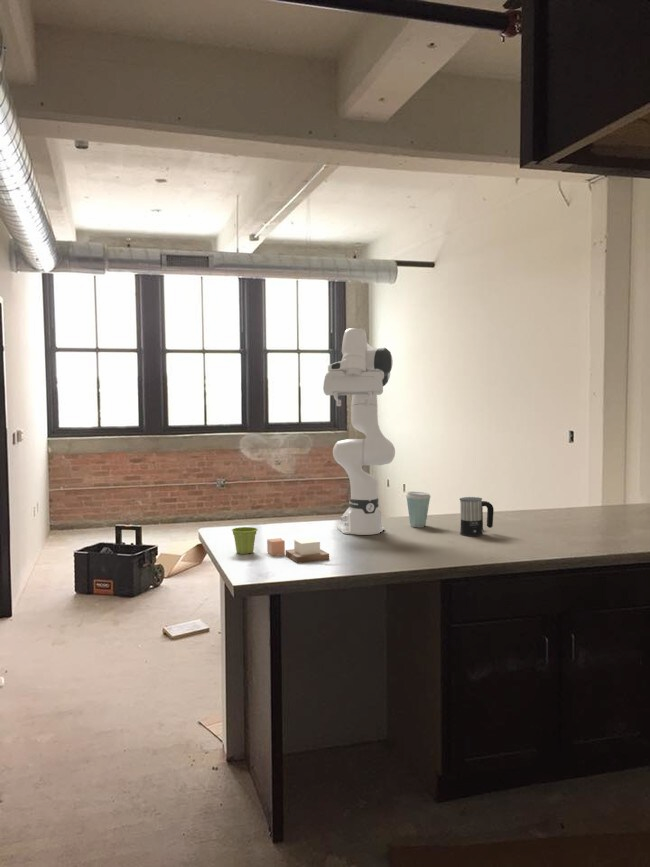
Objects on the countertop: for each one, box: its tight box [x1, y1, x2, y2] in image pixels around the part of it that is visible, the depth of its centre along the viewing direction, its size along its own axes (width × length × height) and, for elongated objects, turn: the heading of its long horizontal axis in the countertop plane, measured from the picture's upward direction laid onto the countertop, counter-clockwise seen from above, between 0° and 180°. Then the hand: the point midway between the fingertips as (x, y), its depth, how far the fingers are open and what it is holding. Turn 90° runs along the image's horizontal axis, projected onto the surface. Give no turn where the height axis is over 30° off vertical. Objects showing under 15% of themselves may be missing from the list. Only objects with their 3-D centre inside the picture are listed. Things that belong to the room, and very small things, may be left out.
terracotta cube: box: [266, 537, 286, 556], centre depth 255 cm, size 5×5×5 cm
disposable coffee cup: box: [405, 491, 431, 528], centre depth 305 cm, size 11×11×15 cm
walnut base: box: [285, 548, 330, 564], centre depth 248 cm, size 12×12×2 cm
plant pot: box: [231, 526, 259, 555], centre depth 257 cm, size 9×9×9 cm
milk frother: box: [459, 496, 495, 537], centre depth 290 cm, size 14×16×15 cm
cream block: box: [293, 537, 321, 555], centre depth 248 cm, size 7×7×4 cm
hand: (352, 405), depth 235 cm, fingers open, 8 cm apart
